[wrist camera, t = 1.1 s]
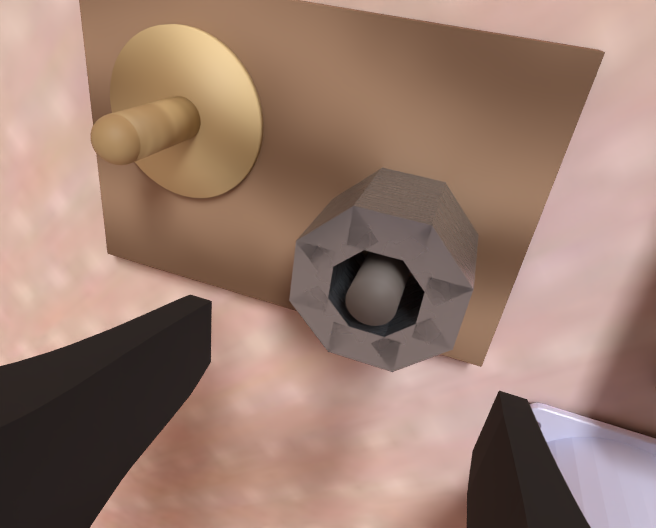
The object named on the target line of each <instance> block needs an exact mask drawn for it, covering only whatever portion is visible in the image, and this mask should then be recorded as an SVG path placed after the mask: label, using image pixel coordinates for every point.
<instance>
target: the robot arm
mask: <svg viewBox="0 0 656 528" xmlns="http://www.w3.org/2000/svg"><path fill="white" fill-rule="evenodd" d="M211 310H212V301H209V300H206V299H203V298H200V297H197V296H193V295H188V296H186V297H183V298H181V299H178V300H176V301H174V302H171V303H169V304H167V305H164V306H162V307H160V308H158V309H156V310H153V311H151V312H149V313H147V314H144V315H142V316H140V317H137V318H135V319H133V320H131V321H128V322H126V323H124V324H121V325H119V326H117V327H114V328H112V329H110V330H107V331H104V332H102V333H99V334H97V335H94V336H92V337H89V338H86V339H84V340H81V341H79V342H76V343H74V344H71V345H68V346H65V347H63V348H60V349H57V350H54V351H51V352H48V353H45V354H41V355H38V356H35V357H32V358H28V359H25V360H22V361H18V362H15V363H11V364H7V365H3V366H0V528H90V527H91V525H92V523H93V522H94V520H95V519H96V517H97V516H98V514H99V513H100V511H101V510H102V508H103V507H104V505H105V504H106V502H107V501H108V499H109V498H110V496H111V495H112V493H113V492H114V490H115V489H116V488H117V486H118V485H119V483H120V482H121V480H122V479H123V478H124V476H125V475H126V474H127V472H128V471H129V470H130V468H131V467H132V466H133V464H134V463H135V462H136V461H137V460H138V458H139V457H140V456H141V455H142V453H143V452H144V451H145V450H146V449H147V447H148V446H149V445H150V444H151V443H152V441H153V440H154V439H155V438H156V436H157V435H158V434H159V433H160V432H161V430H162V429H163V428H164V427H165V426H166V424H167V423H168V422H169V421H170V420H171V418H172V417H173V416H174V415H175V413H176V412H177V411H178V410H179V408H180V407H181V406H182V405H183V403H184V402H185V401H186V400H187V398H188V397H189V396H190V395H191V393H192V392H193V390H194V388H195V387H196V385H197V384H198V382H199V381H200V379H201V377H202V376H203V374H204V372H205V371H206V369H207V367H208V366H209V364H210V362H211ZM538 422H539V423H538ZM467 528H656V439H655V438H652V437H649V436H646V435H642V434H639V433H636V432H633V431H630V430H626V429H623V428H620V427H617V426H613V425H610V424H607V423H604V422H601V421H597V420H594V419H591V418H588V417H584V416H581V415H578V414H575V413H572V412H568V411H565V410H562V409H559V408H555V407H552V406H549V405H546V404H543V403H532V404H529V402H528V400H527V399H524V398H521V397H518V396H515V395H511V394H508V393H505V392H502V391H499V392H498V394H497V396H496V399H495V401H494V403H493V405H492V408H491V410H490V412H489V415H488V417H487V419H486V422H485V424H484V426H483V429H482V431H481V433H480V435H479V438H478V440H477V442H476V445H475V447H474V449H473V453H472V460H471V467H470V475H469V483H468V492H467Z"/></svg>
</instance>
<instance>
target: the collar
mask: <svg viewBox="0 0 656 528" xmlns="http://www.w3.org/2000/svg"><path fill="white" fill-rule="evenodd" d="M477 247H478V233H477V231H476V230H475V228H474V227H473V225H472V224H471V222H470V220H469V219H468V217H467V216H466V214H465V212H464V211H463V209H462V208H461V206H460V204H459V203H458V201H457V200H456V198H455V197H454V195H453V193H452V192H451V190H450V189H449V187H448V185H447V184H446V182H443V181H439V180H434V179H430V178H426V177H421V176H417V175H413V174H408V173H404V172H400V171H395V170H391V169H387V168H383V167H382V168H381V169H379V170H377V171H376V172H374V173H373V174H371V175H370V176H368V177H366V178H365V179H363V180H362V181H360V182H359V183H357V184H355V185H354V186H352V187H351V188H349V189H348V190H346V191H344V192H343V193H341V194H340V195H338V196H336V197H335V198H333V199H332V200H331V202H330V203H329V204H328V205H327V206H326V207H325V208H324V209H323V211H322V212H321V213H320V214H319V215H318V216H317V217H316V219H315V220H314V221H313V222H312V223H311V224H310V225H309V227H308V228H307V229H306V230H305V231H304V232H303V233H302V234H301V236H300V237H299V238H298V239H297V240H296V246H295V255H294V264H293V272H292V281H291V290H290V299H289V301H290V302H291V304H292V305H293V306H294V308H295V309H296V310H297V311H298V313H299V314H300V315H301V317H302V318H303V319H304V321H305V322H306V323H307V325H308V326H309V327H310V328H311V330H312V331H313V332H314V334H315V335H316V336H317V338H318V339H319V340H320V342H321V343H322V344H323V346H324V347H325V348H326V349H327V351H328V352H331V353H334V354H337V355H340V356H343V357H346V358H350V359H353V360H356V361H359V362H362V363H365V364H369V365H372V366H375V367H378V368H381V369H384V370H388V371H391V372H394V371H396V370H399V369H402V368H404V367H407V366H410V365H413V364H415V363H418V362H421V361H423V360H426V359H429V358H431V357H434V356H437V355H439V354H442V353H445V352H448V351H450V350H453V347H454V344H455V341H456V339H457V336H458V333H459V330H460V327H461V324H462V321H463V318H464V315H465V312H466V310H467V307H468V304H469V301H470V298H471V295H472V292H473V290H474V281H475V269H476V258H477ZM363 250H366V251H370V252H374V253H377V254H381V255H385V256H388V257H392V258H396V259H400V260H403V261H404V262H405V264H406V265H407V267H408V268H409V270H410V271H411V273H412V274H413V275H412V276H410V277H408V279H407V282H406V285H405V288H404V291H403V294H402V297H401V300H400V302H399V305H398V308H397V311H396V314H395V316H394V317H393V319H392V320H391V321H389V322H388V323H386V324H383V325H379V326H371V325H366V324H363V323H361V322H359V321H358V320H356V319H355V318H354V317H353V316H352V315H351V314H350V312H349V311H348V309H347V306H346V294H347V291H348V289H349V288H350V286H351V284H352V282H353V280H354V278H355V276H356V275H357V273H358V271H359V269H360V267H361V265H362V263H363V262H364V260H365V258H366V257H365V255H364V254H363V253H362V251H363Z"/></svg>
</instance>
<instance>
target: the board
mask: <svg viewBox="0 0 656 528" xmlns="http://www.w3.org/2000/svg"><path fill="white" fill-rule="evenodd" d="M79 3H80V12H81V21H82V30H83V39H84V47H85V56H86V65H87V74H88V83H89V92H90V101H91V110H92V119H93V127H92V130H91V143H92V146H93V148H94V150H95V152H96V154H97V163H98V172H99V181H100V190H101V199H102V207H103V216H104V225H105V234H106V243H107V252H108V254H111V255H114V256H117V257H121V258H124V259H127V260H131V261H134V262H137V263H141V264H144V265H147V266H150V267H154V268H157V269H160V270H164V271H167V272H170V273H174V274H177V275H180V276H183V277H187V278H190V279H193V280H197V281H200V282H203V283H207V284H210V285H213V286H216V287H220V288H223V289H226V290H230V291H233V292H236V293H240V294H243V295H246V296H249V297H253V298H256V299H259V300H263V301H266V302H269V303H273V304H276V305H279V306H282V307H286V308H289V309H292V310H296V309H295V308H294V306H293V305H292V304H291V302H290V301H289V299H290V290H291V281H292V272H293V264H294V255H295V246H296V240H297V239H298V238H299V237H300V236H301V234H302V233H303V232H304V231H305V230H306V229H307V228H308V227H309V225H310V224H311V223H312V222H313V221H314V220H315V219H316V217H317V216H318V215H319V214H320V213H321V212H322V211H323V209H324V208H325V207H326V206H327V205H328V204H329V203H330V202H331V200H332V199H333V198H335V197H336V196H338V195H340V194H341V193H343V192H344V191H346V190H348V189H349V188H351V187H352V186H354V185H355V184H357V183H359V182H360V181H362V180H363V179H365V178H366V177H368V176H370V175H371V174H373V173H374V172H376V171H377V170H379V169H381V168H382V167H383V168H387V169H391V170H395V171H400V172H404V173H408V174H413V175H417V176H421V177H426V178H430V179H434V180H439V181H443V182H446V184H447V185H448V187H449V189H450V190H451V192H452V193H453V195H454V197H455V198H456V200H457V201H458V203H459V204H460V206H461V208H462V209H463V211H464V212H465V214H466V216H467V217H468V219H469V220H470V222H471V224H472V225H473V227H474V228H475V230H476V231H477V233H478V247H477V258H476V269H475V281H474V290H473V292H472V295H471V298H470V301H469V304H468V307H467V310H466V312H465V315H464V318H463V321H462V324H461V327H460V330H459V333H458V336H457V339H456V341H455V344H454V347H453V350H450V351H448V352H445V353H442V354H441V355H444V356H447V357H451V358H454V359H457V360H461V361H464V362H467V363H471V364H474V365H477V366H480V367H481V366H482V364H483V361H484V359H485V356H486V354H487V351H488V349H489V346H490V343H491V341H492V338H493V336H494V333H495V331H496V328H497V326H498V323H499V321H500V318H501V316H502V313H503V310H504V308H505V305H506V303H507V300H508V298H509V295H510V293H511V290H512V288H513V285H514V282H515V280H516V277H517V275H518V272H519V270H520V267H521V265H522V262H523V260H524V257H525V255H526V252H527V249H528V247H529V244H530V242H531V239H532V237H533V234H534V232H535V229H536V227H537V224H538V221H539V219H540V216H541V214H542V211H543V209H544V206H545V204H546V201H547V199H548V196H549V193H550V191H551V188H552V186H553V183H554V181H555V178H556V176H557V173H558V171H559V168H560V166H561V163H562V160H563V158H564V155H565V153H566V150H567V148H568V145H569V143H570V140H571V138H572V135H573V132H574V130H575V127H576V125H577V122H578V120H579V117H580V115H581V112H582V110H583V107H584V104H585V102H586V99H587V97H588V94H589V92H590V89H591V87H592V84H593V82H594V79H595V77H596V74H597V71H598V69H599V66H600V64H601V61H602V59H603V56H604V54H605V52H603V51H600V50H596V49H590V48H584V47H578V46H572V45H566V44H560V43H554V42H548V41H542V40H536V39H530V38H524V37H518V36H512V35H506V34H500V33H493V32H487V31H481V30H475V29H469V28H463V27H457V26H451V25H445V24H439V23H433V22H427V21H421V20H415V19H409V18H403V17H397V16H390V15H384V14H378V13H372V12H366V11H360V10H354V9H348V8H342V7H336V6H330V5H324V4H318V3H312V2H306V1H300V0H79ZM362 253H363V254H364V255H365V257H366V258H365V260H364V262H363V263H362V265H361V267H360V269H359V271H358V273H357V275H356V276H355V278H354V280H353V282H352V284H351V286H350V288H349V289H348V291H347V294H346V306H347V309H348V311H349V312H350V314H351V315H352V316H353V317H354V318H355V319H356V320H358V321H359V322H361V323H363V324H366V325H371V326H379V325H383V324H386V323H388V322H389V321H391V320H392V319H393V317H394V316H395V314H396V311H397V308H398V305H399V302H400V300H401V297H402V294H403V291H404V288H405V285H406V282H407V279H408V277H410V276H412V275H413V274H412V273H411V271H410V270H409V268H408V267H407V265H406V264H405V262H404V261H403V260H400V259H396V258H392V257H388V256H385V255H381V254H377V253H374V252H370V251H366V250H363V251H362ZM296 311H297V310H296Z"/></svg>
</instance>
